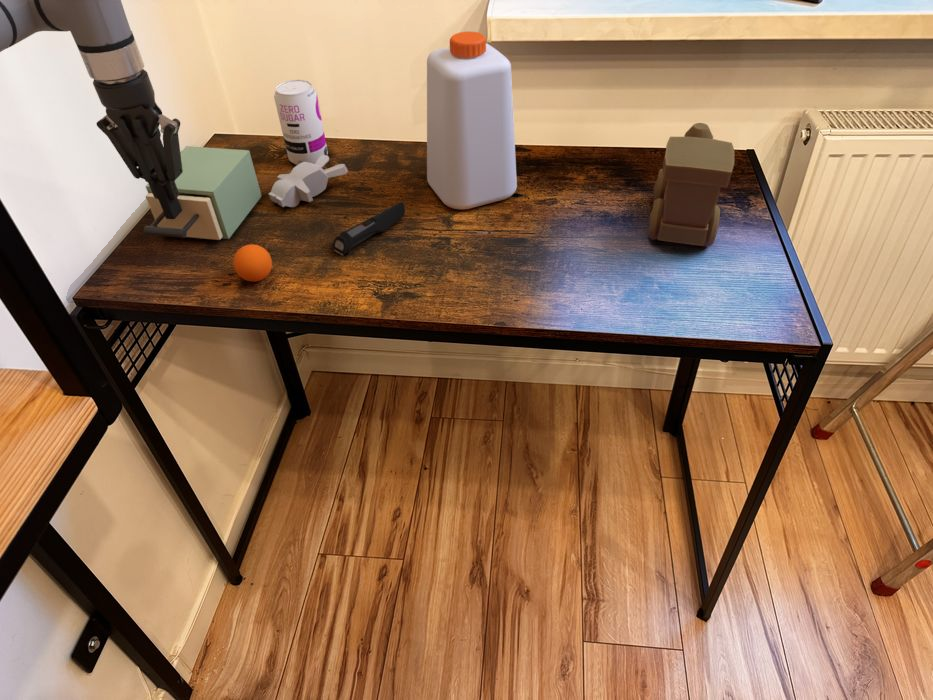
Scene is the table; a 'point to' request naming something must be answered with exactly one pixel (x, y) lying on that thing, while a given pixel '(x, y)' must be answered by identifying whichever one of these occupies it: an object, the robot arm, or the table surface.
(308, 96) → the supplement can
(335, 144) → the table surface
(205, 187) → the cabinet
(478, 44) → the plastic bottle
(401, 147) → the table surface
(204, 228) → the drawer
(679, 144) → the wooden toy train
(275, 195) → the bunny figurine
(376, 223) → the electric trimmer
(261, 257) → the ball
